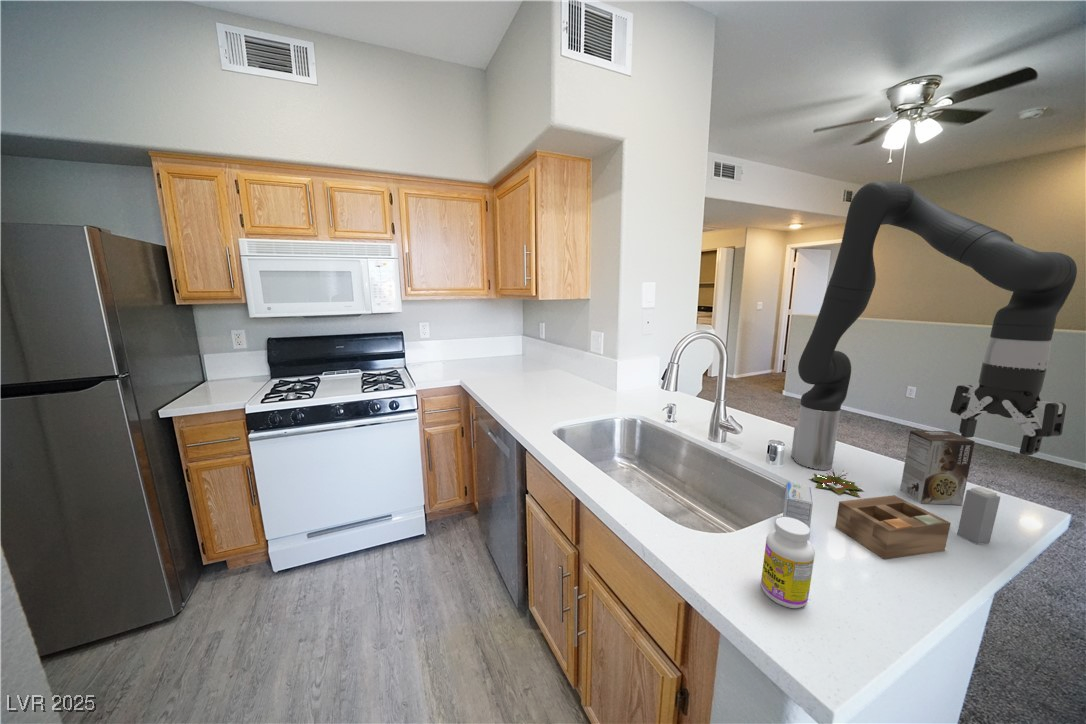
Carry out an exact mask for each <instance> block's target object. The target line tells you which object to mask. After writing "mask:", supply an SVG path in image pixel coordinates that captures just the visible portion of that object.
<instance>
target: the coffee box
mask: <svg viewBox="0 0 1086 724" xmlns="http://www.w3.org/2000/svg"><path fill="white" fill-rule="evenodd" d="M975 442H976V441H975V440H972V439H970V438H966V437H962V436H961V434H960V433H959V434H958V433H955V432H953V431H950V430H910V431H909V437H908V442H907V449H906V454H905V461H904V464H903V465H904V466H903V471H902V472H903V473H902V477H901V483H900V489H899V491H900V492H902V493H903V494H905V495H907V496H909V497H910V498H912V499H913V500H914V501H915V502H917V503H919V504H922V505H924V504H925V505H956V506H957V505H958V506H959V505H960V506H962V505H963V504H964V499H965V494H966V493H965V492H966V489H967V487H966V486H967V483H968V482H967V481H968V477H969V472H970V467H971V462H972V456H973V451H974V447H975Z"/></svg>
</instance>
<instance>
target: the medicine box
mask: <svg viewBox="0 0 1086 724" xmlns="http://www.w3.org/2000/svg"><path fill="white" fill-rule="evenodd" d="M784 492H785V493H784V503H783V509H782V517H790V518H794V519H797V520H799V521H801V522H803V523H805V524H806V525H807V526H808V527H809V529H810V530H811V523H812V514H813V497H812V496H813V495H812V489H811V487H810V486H809V485H804V484H800V483H795V482H790V481H789V482H788V481H787V482H786V485H785V491H784ZM809 539H810V538H809ZM809 539H808V541H810V540H809Z"/></svg>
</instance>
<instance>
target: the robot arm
mask: <svg viewBox="0 0 1086 724" xmlns="http://www.w3.org/2000/svg"><path fill="white" fill-rule="evenodd" d="M882 225H883V226H885V225H889V226H893V227H898V228H902V229H904V230H907V231H910V232H912V233H914V234H916V235H918V236H920V237H921V238H922V239H923V240H924V241H925V242H926V243H928V244H929V246H930V247H932V248H933V249H935V251H938V252H939V253H940V254H942V255H943V256H946V257H948V258H950V259H952V260H954V261H956V262H958V263H960V264H962V265H964V266H967V267H969V268H971V269H972V270H973V271H975V272H976V273H977V274H979V275H980V276H981V277H982V278H984V279H985V280H986V281H988V282H989V283H991V284H993V285H994V286H996V287H998V288H1000V289H1003V290H1005V291H1008V292H1012V294H1011V297H1010V299H1009V302H1008V304H1007V305H1005V306H1004V307H1002V308H1000V309H998V310H997V312H996V314H995V316H994V318H993V321H992V326H991V331H990V337H989V340H988V342H987V345H986V347H985V351H984V354H983V358H982V364H981V369H980V373H979V378H978V384H979V385H978V387H973V386H972V384H962V385H957V386H956V387H955V391H954V395H953V399H952V402H951V406H950V412H951V414H952V413H953V414H956V415H957V416H959V417H960V418H961V421H960V425H959V430H958V431H959V434H960V435H961V436H962V437H965V438H967V439H970V438H973V437H974V436H975V434H976V428H977V423H978V419H977V418H978V417H979V416H981V415H983V414H986V413H987V414H991V415H999V416H1001V417H1004V418H1008V419H1013V420H1014V422H1015V423H1016V424H1017V425H1019V426H1020V427H1021V428H1022V430H1023V431H1024V432H1025V434H1023V435H1022V440H1021V444H1020V449H1019V454H1020V455H1024V456H1032V455H1034V454H1038V452H1039V451H1040V450H1041V449H1040V448H1041V444H1042V441H1043V440H1042V439H1043V438H1044V437H1046V438H1050V437H1060V436H1061V435H1062V434H1063V430H1064V429H1063V428H1064V423H1065V416H1066V412H1067V405H1066V403H1064V402H1052V401H1045V400H1044V401H1043V400H1041V397H1040V393H1041V392H1042V389H1043V386H1044V382H1045V377H1046V373H1047V369H1048V366H1049V365H1050V356H1051V351H1052V350H1051V345H1052V339H1053V334H1054V330H1055V326H1056V323H1057V322H1056V321H1057V316H1058V314H1059V312H1060V311H1061V309H1062V308H1063V307H1064V304H1065V303H1066V300H1067V299H1068V297H1069V295H1070V293H1071V292H1072V289H1073V287H1074V285H1075V282H1076V279H1077V275H1078V267H1077V263H1076V262H1075V260H1074V259H1073V258H1072V257H1071V256H1069V255H1067V254H1065V253H1062V252H1055V251H1053V252H1052V251H1038V250H1035V249H1031V248H1028V247H1026V246H1023V245H1021V244H1019V243H1016V242H1015V241H1014V239H1013V237H1012V236H1011V235H1008V234H1007V233H1005V232H1003V231H1000V230H998V229H995V228H993V227H991V226H989V225H986V224H983V223H980V222H977V221H975V220H973V219H971V218H967V217H965V216H963V215H961V214H957V213H955V212H953V211H950V210H949V209H946V208H944V207H942V206H940V205H938V204H937V203H935V202H933V201H931V200H930V199H928V198H927V197H925V196H924V195H923V194H921V193H920V192H919V191H917V190H915V189H914V188H912V187H911V186H909V185H907V184H905V183H902V182H893V181H892V182H891V181H880V180H879V181H871V182H869V183H867V184H865V185H863V186H862V187H860V189H858V191H856V193H855V194H854V196H853V197H852V199H851V201H850V204H849V207H848V212H847V216H846V219H845V226H844V229H843V234H842V239H841V242H840V246H839V247H840V248H839V251H838V253H837V254H838V255H837V256H836V260H835V263H834V267H833V270H832V273H831V276H830V277H829V278H830V279H829V281H828V284H827V288H826V290H825V294H824V297H823V300H822V304H821V307H820V310H819V313H818V315H817V318H816V321H815V323H814V326H813V329H812V331H811V334H810V336H809V339H808V341H807V343H806V345H805V347H804V349H803V352H802V354H801V355H800V358H799V362H798V367H797V371H798V375H799V378H800V379H801V380H802V382H804V383H806V384H808V385H813V387H811V389H810V390H808V391H806V392H805V393H803V394H801V398H800V404H799V405H800V406H799V412H798V423H797V426H795V427H794V429H793V439H792V445H791V454H790V457H791V456H792V457H793V458H794V459H793V458H792V457H791V458H792V459H793V460H795V461H796V462H795V461H794V462H795V463H797V464H798V463H799V464H798V465H800V464H802V465H804V466H803V467H805V466H806V467H805V468H808V467H810V468H809V469H812V468H814V469H813V470H818V469H819V470H820V471H827V470H832V469H833V463H834V458H835V457H834V455H835V451H836V444H837V437H838V430H839V429H838V428H839V422H840V415H841V408H842V404H843V403H844V401H845V400H846V398H847V395H848V390H849V386H850V382H851V381H850V380H851V374H852V364H851V360H850V358H849V357H848V355H846V353H844V352H843V351H839V350H836V348H837V345H838V344H839V342H840V340H841V338H842V336H843V335H844V334H845V333H846V332H847V331H848V329H850V327H851V326H852V325H853V324H854V323H855V322H856V321H857V320H858V319H859V317H861V315H862V314H863V313H864V312H865V310H866V308H867V307H868V305H869V302H870V300H871V296H872V293H873V291H874V288H875V285H876V282H877V281H876V280H877V277H876V276H877V275H876V274H877V273H876V267H875V259H874V247H875V246H874V245H875V242H876V239H877V235H878V233H879V229H880V228H881V226H882ZM974 396H975V398H976V399H977V400H978V401H977V402H976V403H974V404H973V405H971V406H969V405H970V401H971V398H972V397H974ZM1038 408H1039V409H1040V412H1041V413H1042V414H1043V419H1042V423H1040V418H1039V417H1038V415H1037V414H1036V413H1035V410H1036V409H1038ZM802 465H801V466H802Z"/></svg>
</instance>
